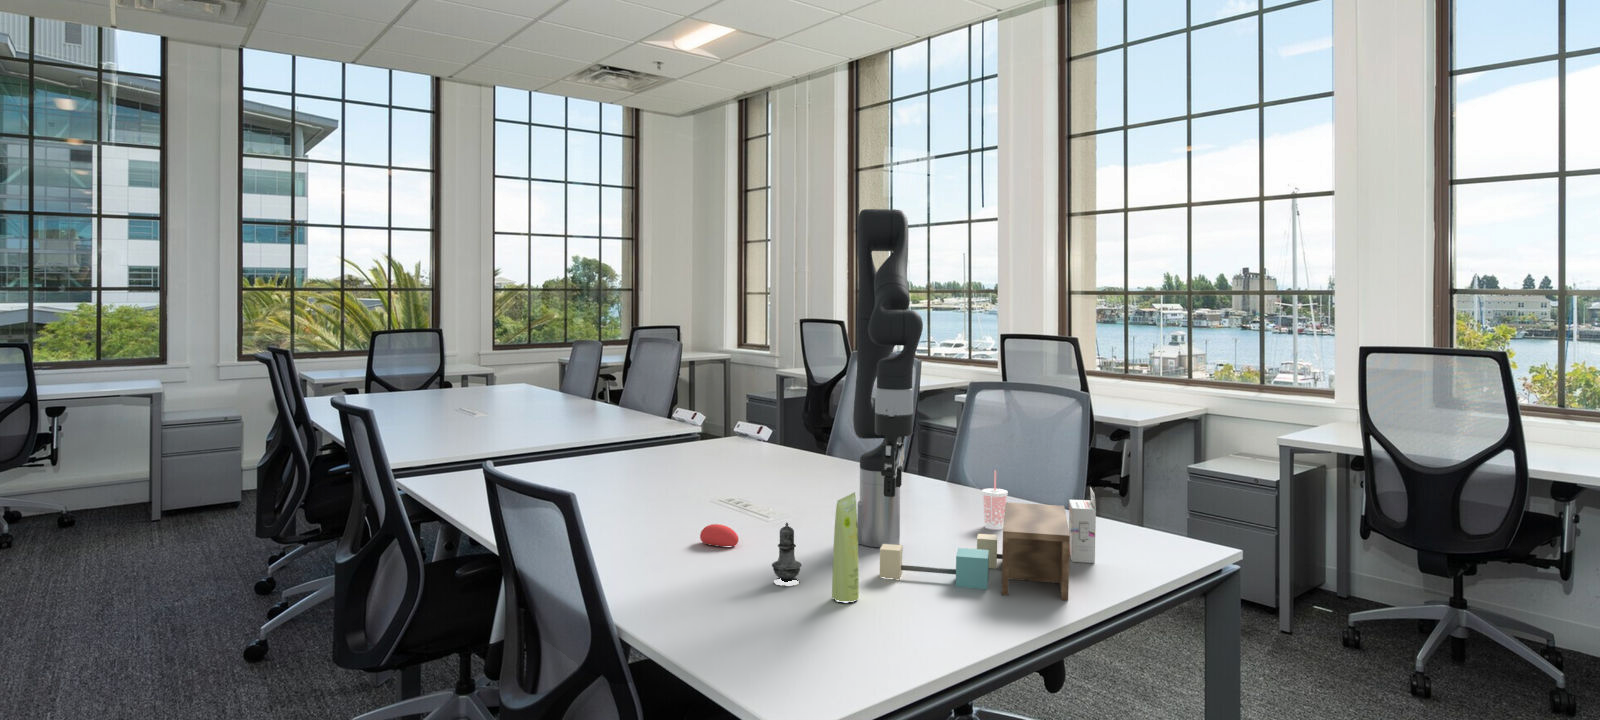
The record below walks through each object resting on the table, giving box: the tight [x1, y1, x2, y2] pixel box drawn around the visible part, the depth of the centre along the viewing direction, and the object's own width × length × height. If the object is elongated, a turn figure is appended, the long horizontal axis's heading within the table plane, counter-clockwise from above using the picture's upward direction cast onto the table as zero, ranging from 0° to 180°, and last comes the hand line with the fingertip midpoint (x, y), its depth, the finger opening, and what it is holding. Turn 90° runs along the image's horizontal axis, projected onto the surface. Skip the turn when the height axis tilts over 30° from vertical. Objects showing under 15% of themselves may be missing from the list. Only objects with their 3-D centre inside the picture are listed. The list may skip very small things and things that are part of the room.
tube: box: [831, 491, 860, 601], centre depth 162 cm, size 6×5×20 cm
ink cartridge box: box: [1068, 487, 1097, 564], centre depth 190 cm, size 9×5×15 cm, turn 168°
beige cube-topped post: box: [976, 533, 1002, 569], centre depth 183 cm, size 15×6×6 cm, turn 76°
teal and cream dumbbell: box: [879, 544, 990, 590], centre depth 174 cm, size 21×6×6 cm, turn 76°
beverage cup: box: [981, 469, 1009, 530], centre depth 215 cm, size 6×6×14 cm
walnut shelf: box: [1001, 501, 1070, 601], centre depth 175 cm, size 12×24×12 cm, turn 166°
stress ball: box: [699, 523, 740, 547], centre depth 198 cm, size 5×9×6 cm, turn 52°
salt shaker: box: [771, 522, 803, 582], centre depth 172 cm, size 6×6×12 cm
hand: (892, 491), depth 175 cm, fingers open, 8 cm apart
